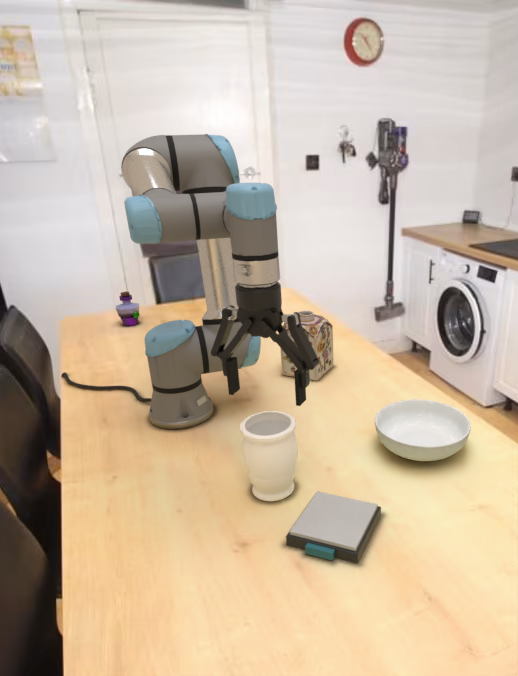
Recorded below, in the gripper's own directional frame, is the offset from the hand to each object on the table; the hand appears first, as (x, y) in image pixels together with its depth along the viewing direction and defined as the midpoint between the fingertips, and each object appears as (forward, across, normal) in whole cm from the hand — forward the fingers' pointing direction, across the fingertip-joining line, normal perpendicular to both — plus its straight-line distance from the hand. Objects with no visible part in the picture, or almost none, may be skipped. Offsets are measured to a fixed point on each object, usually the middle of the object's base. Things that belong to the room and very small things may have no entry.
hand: (267, 397), depth 98 cm
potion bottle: (+20, -96, +72) cm, 122 cm away
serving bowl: (+21, +24, +25) cm, 40 cm away
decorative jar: (+20, -17, +55) cm, 61 cm away
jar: (+21, 0, 0) cm, 21 cm away
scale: (+21, +16, -7) cm, 27 cm away
